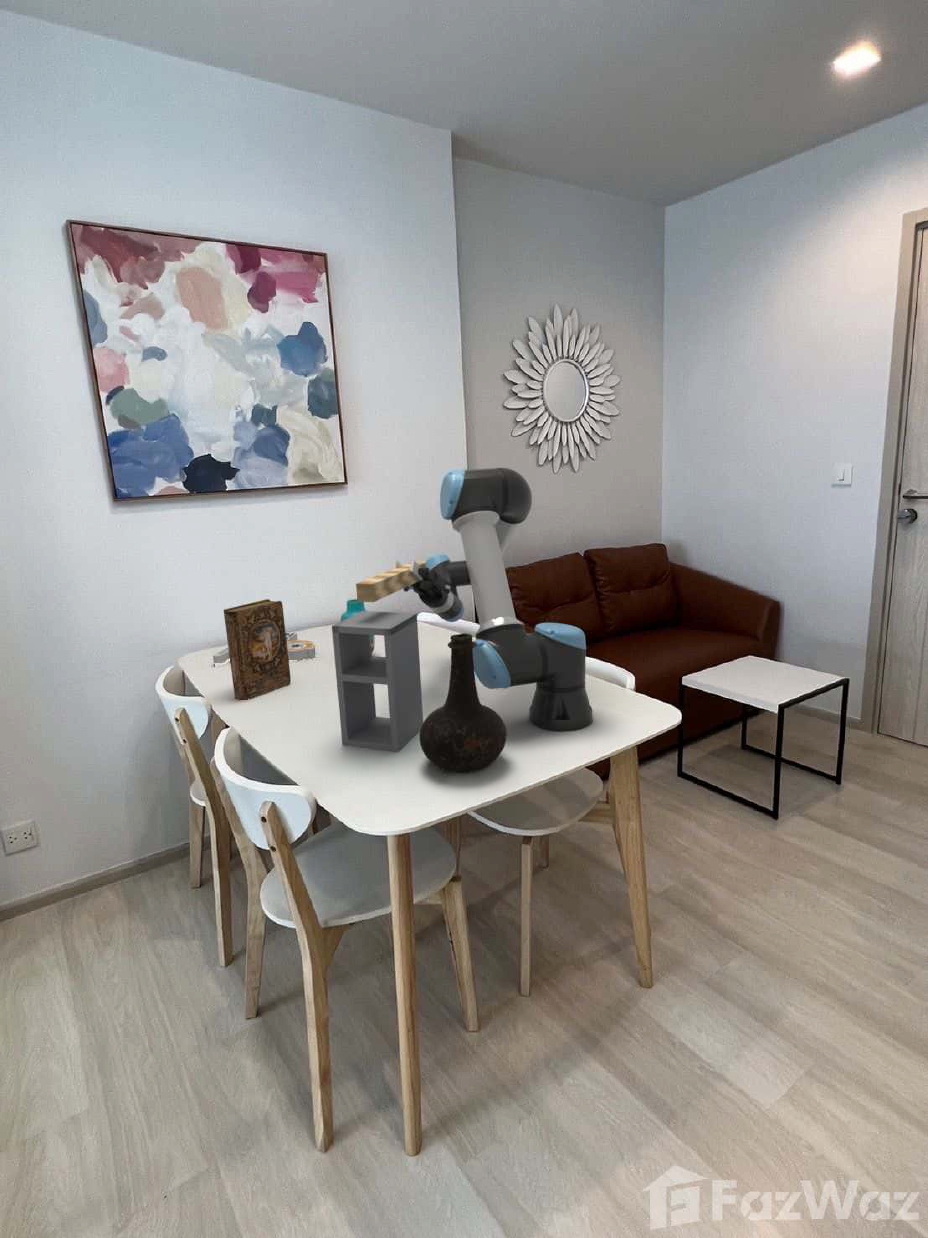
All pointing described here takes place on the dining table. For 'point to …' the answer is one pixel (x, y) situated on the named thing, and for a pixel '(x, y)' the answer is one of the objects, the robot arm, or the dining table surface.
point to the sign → (294, 647)
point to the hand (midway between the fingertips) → (403, 565)
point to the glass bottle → (462, 719)
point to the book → (257, 648)
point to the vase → (353, 609)
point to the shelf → (378, 679)
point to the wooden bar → (386, 583)
